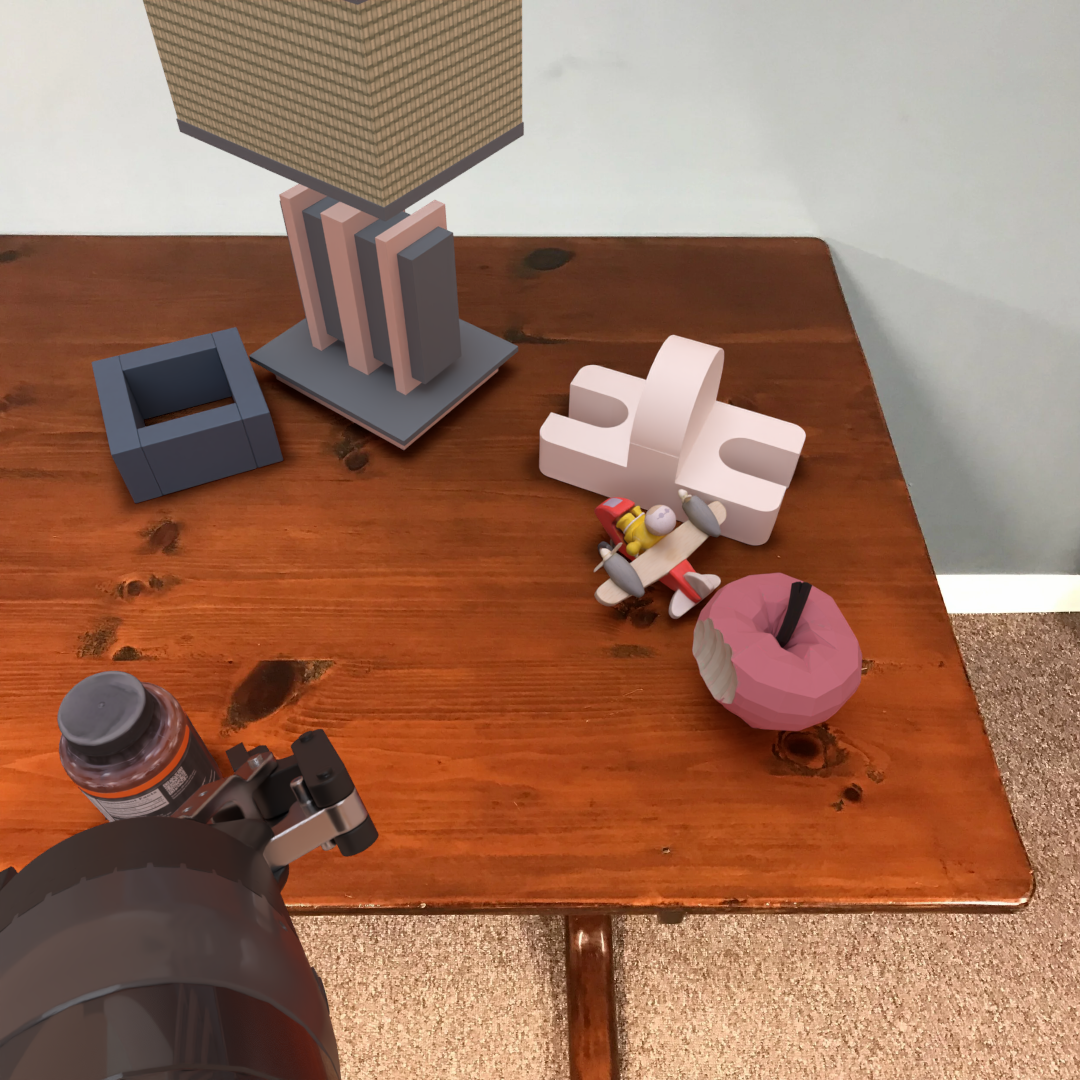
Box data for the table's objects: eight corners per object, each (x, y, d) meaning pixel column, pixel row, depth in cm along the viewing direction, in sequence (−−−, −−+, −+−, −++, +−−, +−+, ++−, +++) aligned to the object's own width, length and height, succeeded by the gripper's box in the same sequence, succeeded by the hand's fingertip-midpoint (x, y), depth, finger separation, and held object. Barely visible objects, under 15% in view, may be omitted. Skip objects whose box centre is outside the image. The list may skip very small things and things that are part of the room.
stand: (135, 504, 65) (110, 454, 62) (114, 411, 72) (91, 361, 68) (283, 460, 68) (269, 411, 65) (251, 375, 75) (236, 326, 71)
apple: (667, 649, 58) (689, 551, 50) (792, 626, 59) (832, 528, 52) (716, 785, 52) (749, 698, 44) (855, 757, 53) (910, 667, 46)
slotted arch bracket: (582, 396, 74) (590, 283, 65) (797, 462, 69) (834, 350, 61) (533, 471, 68) (535, 358, 60) (764, 549, 63) (800, 438, 55)
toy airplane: (592, 524, 65) (598, 461, 60) (718, 532, 64) (734, 469, 60) (588, 628, 59) (594, 567, 54) (726, 637, 59) (745, 577, 54)
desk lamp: (525, 374, 75) (526, -82, 50) (415, 469, 68) (351, -9, 43) (366, 296, 82) (296, -139, 57) (249, 376, 75) (111, -85, 50)
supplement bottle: (139, 753, 53) (63, 647, 44) (239, 757, 53) (183, 652, 44) (103, 853, 49) (12, 759, 40) (211, 858, 49) (144, 765, 40)
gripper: (366, 723, 20) (270, 649, 35) (-387, 1146, 15) (-128, 849, 30) (497, 992, 22) (351, 811, 37) (-156, 1468, 16) (-17, 1031, 31)
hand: (135, 828), depth 33 cm, fingers open, 8 cm apart
